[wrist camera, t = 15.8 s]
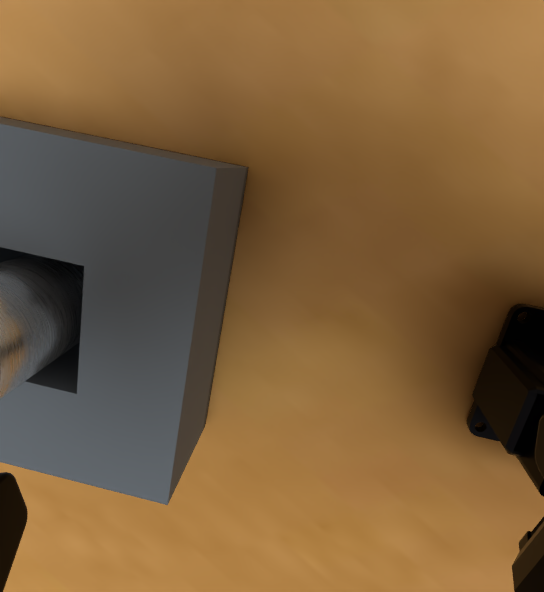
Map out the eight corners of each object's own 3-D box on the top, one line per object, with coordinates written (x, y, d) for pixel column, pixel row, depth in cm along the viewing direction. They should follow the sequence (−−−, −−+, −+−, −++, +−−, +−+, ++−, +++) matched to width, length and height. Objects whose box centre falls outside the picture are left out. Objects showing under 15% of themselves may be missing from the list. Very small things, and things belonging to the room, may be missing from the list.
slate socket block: (248, 167, 18) (216, 168, 13) (205, 425, 22) (167, 504, 17) (-38, 108, 19) (-174, 88, 14) (-30, 368, 23) (-135, 427, 18)
